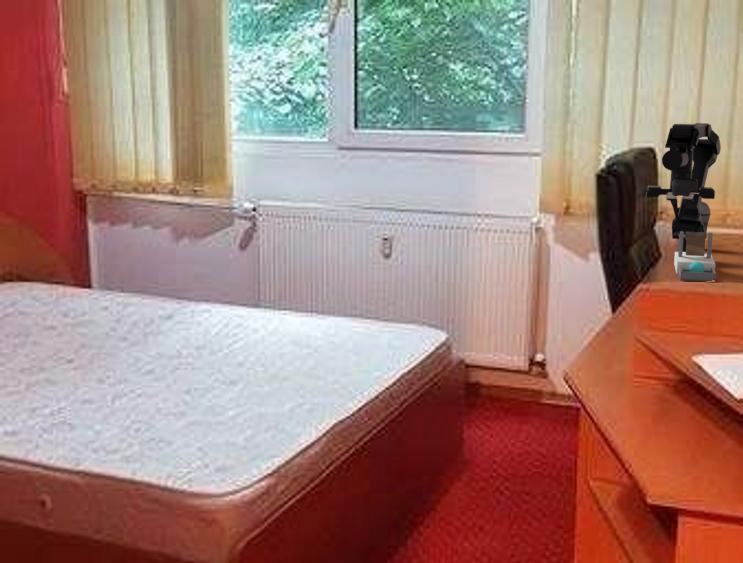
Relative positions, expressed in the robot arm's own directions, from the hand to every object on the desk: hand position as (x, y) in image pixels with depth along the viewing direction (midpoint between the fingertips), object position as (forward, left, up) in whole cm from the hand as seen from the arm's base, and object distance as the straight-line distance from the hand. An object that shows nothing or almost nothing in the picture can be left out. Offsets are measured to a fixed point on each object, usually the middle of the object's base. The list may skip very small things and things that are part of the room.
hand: (677, 221), depth 271 cm
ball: (+17, +5, -10) cm, 20 cm away
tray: (+18, +5, -13) cm, 23 cm away
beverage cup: (-32, +8, -13) cm, 36 cm away
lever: (+4, +5, -9) cm, 11 cm away
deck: (+4, +5, -13) cm, 14 cm away
